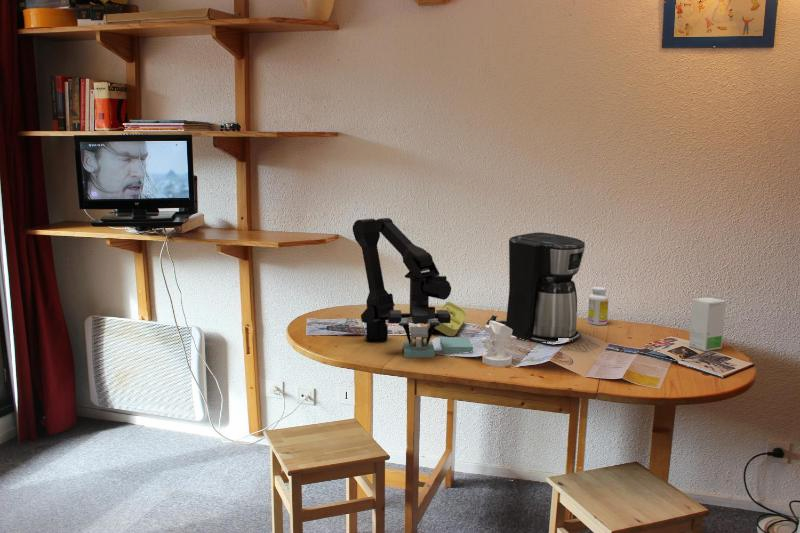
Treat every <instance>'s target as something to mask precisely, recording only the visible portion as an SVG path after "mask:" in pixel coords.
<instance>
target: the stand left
mask: <svg viewBox="0 0 800 533" xmlns="http://www.w3.org/2000/svg"><path fill="white" fill-rule="evenodd" d="M427 345H428V350H411V346H410V344H409V341H408V340H407V341H405V340H404V341H403V344H402V346H403V347H402V349H403V355H404V357H403V358H405V359H407V358H409V359H410V358H411V359H414V358H420V359H421V358H422V359H423V358H430V359H431V358H435V357H436V355H435V352H436V351H435V347H434V343H433V340H429V343H428V344H427Z"/></svg>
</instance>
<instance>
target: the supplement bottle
mask: <svg viewBox="0 0 800 533" xmlns="http://www.w3.org/2000/svg"><path fill="white" fill-rule="evenodd" d="M606 292H607V288H606V287H603V286H593V287H592V293H591V294H590V295H589V296H588V309H587V310H588V312H587V321H588V323H589V325H593V326H604V325H607V323H608V314H609V313H608V312H609V297H608V295H607V294H606Z"/></svg>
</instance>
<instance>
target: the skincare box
mask: <svg viewBox="0 0 800 533" xmlns="http://www.w3.org/2000/svg"><path fill="white" fill-rule="evenodd" d="M726 304H727V302H726V300H723V299H720V298H716V297H715V298H714V297H697V298H693V299H692V306H691V315H690V316H691V317H690V318H691V319H690V328H689V329H690V330H689V338H688V340H689V342H688V348H689V347H690V348H693V349H695V350H699V351H702V352H709V351H713V350H721V349H722V347H723V338H724V337H723V336H724V325H725V313H726Z"/></svg>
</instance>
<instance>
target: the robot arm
mask: <svg viewBox="0 0 800 533" xmlns="http://www.w3.org/2000/svg"><path fill="white" fill-rule="evenodd" d="M352 232H353V235H354V236H353V237H354V239H355V241H356V243H357V244H358V245H359V247H361V250H362V251H361V252H362V256H363V257H362V258H363V262H364V267H365V268H364V269H365V273H366V280H367V284H368V290H369V292H368V295H367V298H366V302H365V303H366V309H364V311H363V312H362V313H361V314H360V319H361V322H362V323H365V325H366V326H365V327H366V334H365V337H366V338H365V341H366V343H369V342H374V343H377V342H383V343H384V342H387V339H388V338H389V336H388V335H389V334H388V332H389V331H388V330H389V326H388V324H398V326H400V327H402V328H403V329H404V331H405V332H404V333H405V334H406V337H407V341H409V344H411V333H410V324H409V320H411V323H412V324H414V325H419V324H421V325H427V324H428V325H427V326H428V331H427V332H428V337H427V344H428V343H429V341H431V340H430V339H431V338H432V335H433V332H434V330H435V327H436V326H439V325H440V323H451V316H450V313H449V311H448V310H441V309H436V306H429V300H430V298H434V299H437V300H438V299H439V300H443V301H445V300H447V299H448V298H449V297H450V295H451V293H452V286H451V284H450V282H449V281H448V279H447V278H448V277H447V276H446V275H440V272H439V270H438V268H437V266H436V264H435V262H434V259H433V256H432V254H431V253H430V252H428V251H427V250H425V249H424V248H422V247H420V246H417V245H416V244H414V243H413V242H412V241H411V240H410V239H409V238H408V237H407V236H406V235H405V234H404V233H403V231H401V230H400V228H399V227H398V226H397V225H396V224H394V222H393V220H392V219H391V218H389V217H383V218H382V217H381V218H378V219H375V218H365V219H364V218H363V219H357V220H355V221H354V223H353V224H352ZM381 235H382V236H383V237H384V238H385V239H386V240H387V242H389V243H390V244H391V246H393V248H394V249H395V250H396V251H397V252H398V253H399V254H400V255H401V257H402V262H403V264H404V266H405V267H406V269H407V270H408V272H407V273H406V274H405V275H404V278H405V279H409V313H407V312H405V313H403V312H402V310H400V309H395V308H394V307H395V306H396V304H395V302H394V296H393V293H388V291H387V290H386V288H385V283H384V277H383V270H382V267H381V260H380V256H379V255H380V254H379V249H378V243H379V240H380V238H381V237H380V236H381ZM386 321H387V322H388V323H387V322H386ZM439 322H440V323H439Z"/></svg>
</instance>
